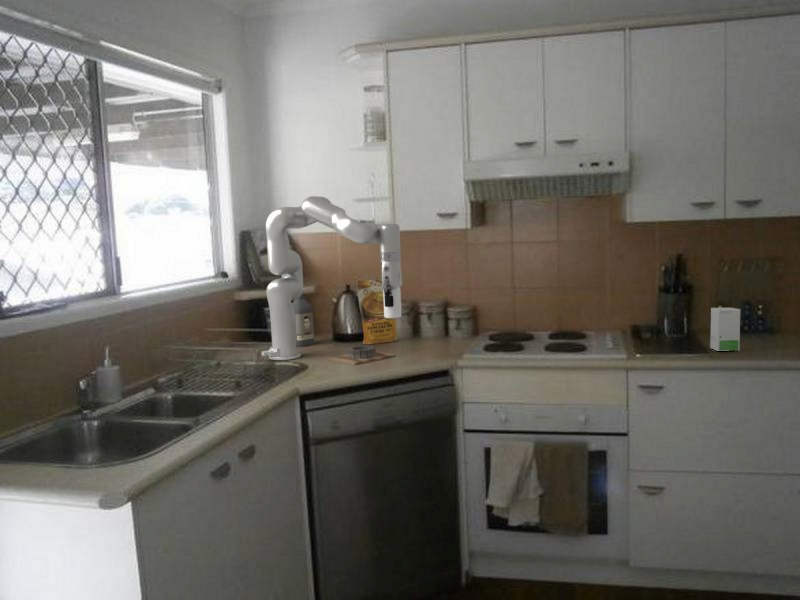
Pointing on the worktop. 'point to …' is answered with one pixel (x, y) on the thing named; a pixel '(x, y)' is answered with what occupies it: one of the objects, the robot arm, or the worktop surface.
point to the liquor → (303, 322)
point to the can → (396, 309)
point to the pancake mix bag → (374, 312)
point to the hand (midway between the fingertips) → (392, 305)
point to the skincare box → (725, 329)
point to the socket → (361, 355)
